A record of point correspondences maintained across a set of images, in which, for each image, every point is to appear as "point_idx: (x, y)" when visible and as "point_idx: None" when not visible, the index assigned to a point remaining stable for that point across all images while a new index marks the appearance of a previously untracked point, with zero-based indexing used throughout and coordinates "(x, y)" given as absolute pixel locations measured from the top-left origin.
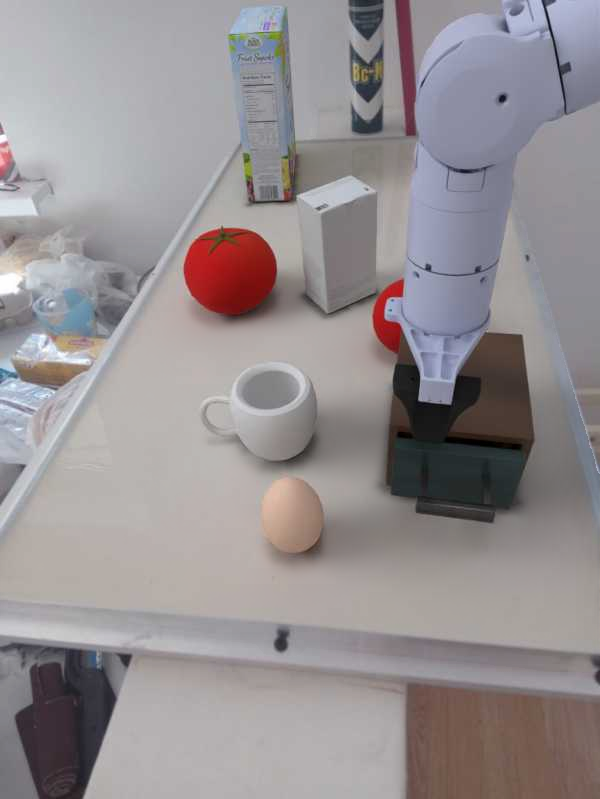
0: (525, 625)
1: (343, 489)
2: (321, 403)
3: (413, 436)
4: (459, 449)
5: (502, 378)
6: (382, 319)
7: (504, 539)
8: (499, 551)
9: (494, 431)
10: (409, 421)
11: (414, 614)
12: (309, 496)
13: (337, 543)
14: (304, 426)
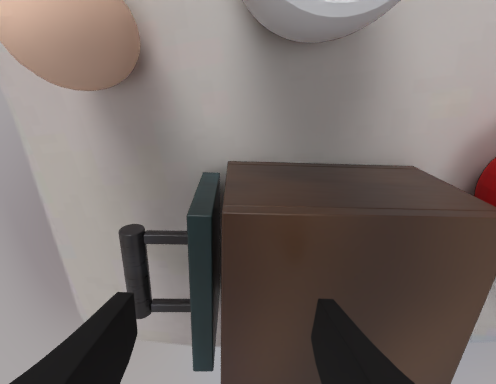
0: (90, 292)
1: (212, 103)
2: (389, 41)
3: (110, 299)
4: (200, 304)
5: None
6: None
7: (177, 282)
8: (161, 277)
9: (227, 355)
10: (73, 333)
11: (63, 201)
12: (46, 68)
13: (124, 105)
14: (265, 21)
